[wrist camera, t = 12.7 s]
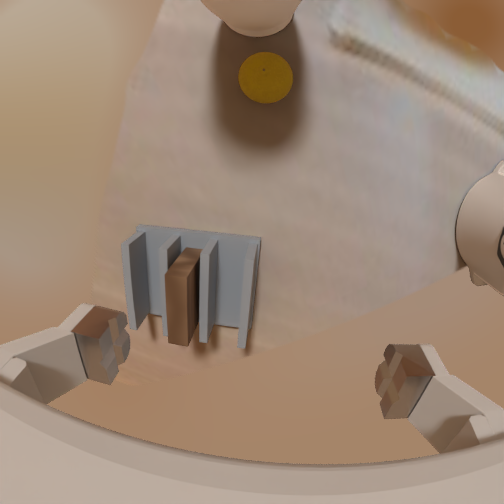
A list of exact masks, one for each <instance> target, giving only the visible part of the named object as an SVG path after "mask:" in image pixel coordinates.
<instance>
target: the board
mask: <svg viewBox="0 0 504 504" xmlns="http://www.w3.org/2000/svg"><path fill="white" fill-rule="evenodd" d="M202 250H203V249H197V248H188V247H186V248H185V249H184V250H183V252H182V253H181V254H180V255H179V257H178V258H177V259H176V260H175V262H174V263H173V264H172V266H171V267H170V268H169V269H168V271H167V272H166V273H165V297H166V315H167V330H168V343H171V344H176V345H182V346H189V343H190V341H191V338H192V336H193V334H194V331H195V329H196V326H197V324H198V322H199V299H200V253H201V252H202Z"/></svg>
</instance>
